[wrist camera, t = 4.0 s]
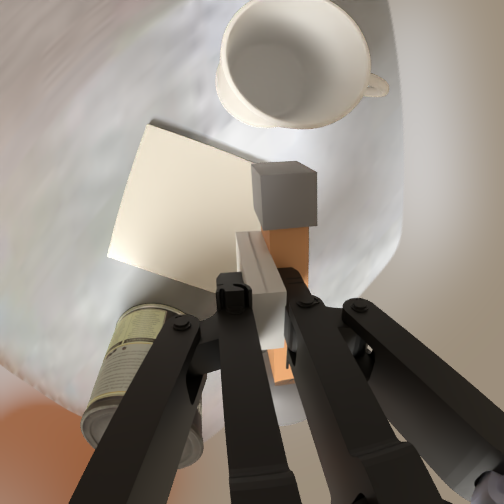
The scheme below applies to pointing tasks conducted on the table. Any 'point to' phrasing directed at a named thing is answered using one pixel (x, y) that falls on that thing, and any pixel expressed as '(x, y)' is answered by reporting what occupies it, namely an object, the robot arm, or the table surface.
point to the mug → (294, 64)
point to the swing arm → (285, 255)
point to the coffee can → (132, 375)
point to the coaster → (183, 209)
